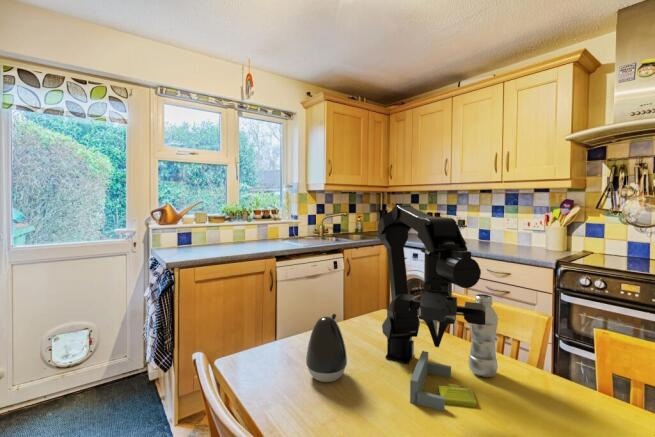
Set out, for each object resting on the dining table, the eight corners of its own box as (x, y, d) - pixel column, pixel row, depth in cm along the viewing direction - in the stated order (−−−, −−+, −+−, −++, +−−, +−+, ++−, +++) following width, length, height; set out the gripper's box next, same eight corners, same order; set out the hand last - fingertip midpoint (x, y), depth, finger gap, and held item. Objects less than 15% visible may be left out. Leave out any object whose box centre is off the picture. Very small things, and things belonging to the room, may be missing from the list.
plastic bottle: (501, 382, 77) (503, 300, 76) (471, 379, 79) (472, 299, 78) (493, 368, 84) (494, 293, 82) (465, 366, 85) (466, 291, 84)
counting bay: (410, 402, 70) (410, 380, 70) (422, 369, 83) (422, 350, 83) (444, 411, 67) (444, 388, 66) (450, 375, 80) (451, 356, 80)
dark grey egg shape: (353, 370, 83) (353, 313, 82) (337, 392, 74) (337, 327, 73) (317, 362, 87) (317, 307, 86) (298, 382, 78) (298, 320, 77)
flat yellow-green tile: (435, 409, 68) (435, 396, 68) (430, 385, 77) (430, 374, 77) (485, 415, 66) (486, 402, 66) (475, 390, 75) (475, 378, 75)
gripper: (385, 279, 66) (385, 353, 67) (486, 290, 58) (484, 374, 59) (398, 269, 76) (398, 333, 77) (486, 277, 68) (484, 349, 69)
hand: (437, 346), depth 70 cm, fingers closed
